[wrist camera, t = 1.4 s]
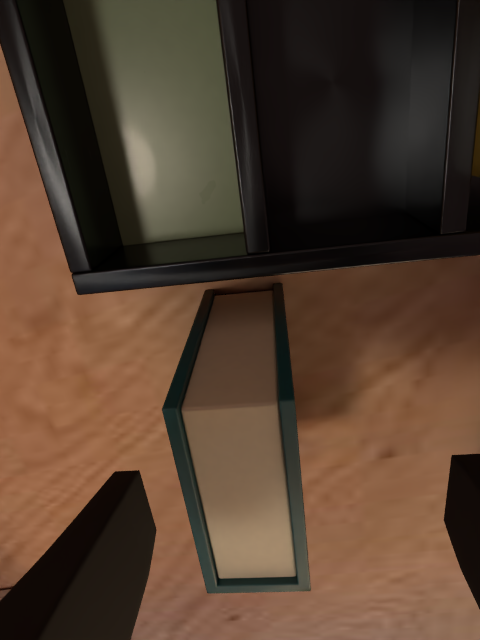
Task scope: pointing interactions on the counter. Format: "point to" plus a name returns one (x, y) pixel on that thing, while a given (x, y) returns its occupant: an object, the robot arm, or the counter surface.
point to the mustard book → (477, 148)
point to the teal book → (240, 445)
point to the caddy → (249, 133)
